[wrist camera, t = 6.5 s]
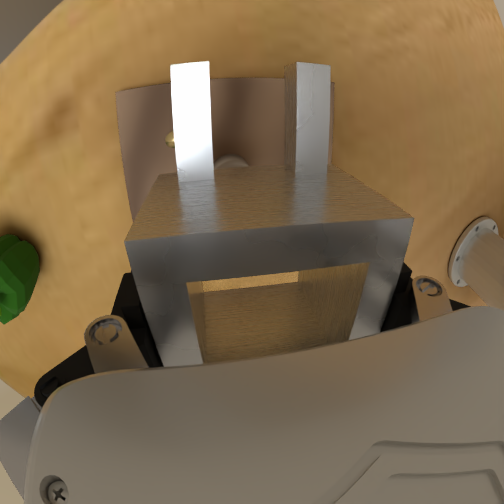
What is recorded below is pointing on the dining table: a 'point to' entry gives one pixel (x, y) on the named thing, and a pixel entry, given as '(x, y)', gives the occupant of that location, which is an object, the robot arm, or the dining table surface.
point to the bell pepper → (16, 275)
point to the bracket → (262, 237)
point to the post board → (222, 126)
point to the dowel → (170, 140)
